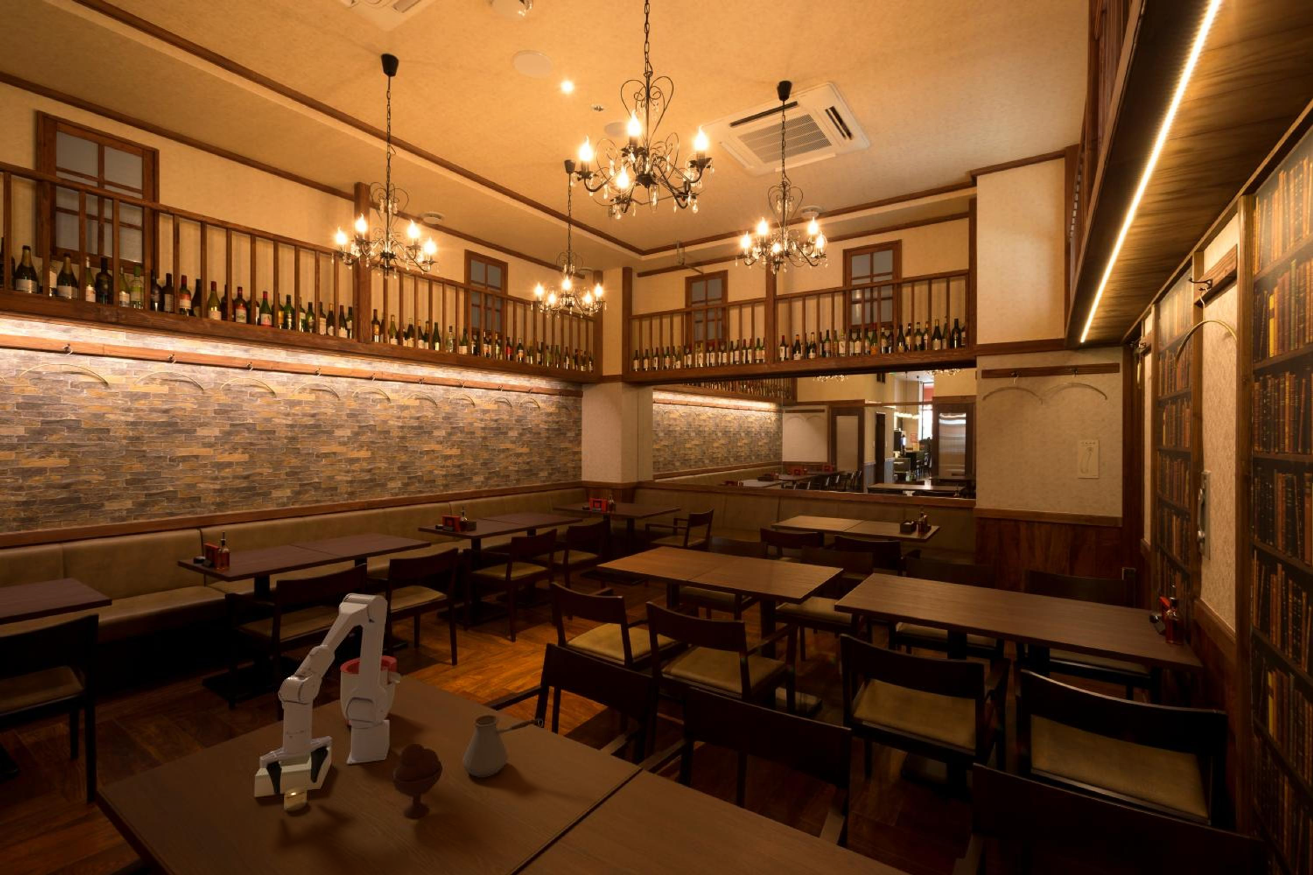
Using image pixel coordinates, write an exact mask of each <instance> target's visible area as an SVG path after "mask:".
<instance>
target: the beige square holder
mask: <svg viewBox="0 0 1313 875" xmlns="http://www.w3.org/2000/svg"><path fill="white" fill-rule="evenodd" d="M327 750H328V756H327V757H326V759H325V760H324V762H323V764H322V766H321V769H320V771H319V775H318V778H317V782H316V783H313V782H312V781H311V752H309V753H306V754H304V755H301V756H297V757H293V758H290V759H287V760H283V761H280V762H279V764H280V767H281V768H282V772H281V778H280V795H281V794H285V793H286V792H287V791H289V790H291V789H293V788H297V787H304V788H306V789H307V791H311V790H312V791H313V790H319V789H321V788H322V785H323V783H324V781H325V778H326V777H327V775H328V771H329V769H330V766H331V764H332V747H329V748H327ZM274 751H275V750H272V751H271V750H270V752H269V753H271V752H274ZM259 767H260V766H259ZM273 795H275V794H274V790H273V785H272V781H271V778H270V776H269V774H268V772H267V770H266V768H261V767H260V768H259V769H258V771H257V772H256V774H255V775H254V795H253V796H254V798H258V797H265V796H267V797H268V796H273ZM275 796H276V795H275Z"/></svg>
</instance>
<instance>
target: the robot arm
mask: <svg viewBox="0 0 1313 875" xmlns="http://www.w3.org/2000/svg"><path fill="white" fill-rule="evenodd" d="M387 612H388V600H386V598H385V597H384V596H383V595H371V594H362V593H355V592H351V593H348V594H346V596H345V597H343V599H342V602H340V604H339V606H338V614H339V615H338V616H337V618H336V619H335V621H334V623H333V625H332V626H331V628H330V629H329V631H328V632H327V634H326V636H325V638H324V639H323V640H322V643H321V644H320V645H317V646H314V647H313V648H312V649H311V650H310V651H309V653H308V654H307V655H306V657H305V659H304V660H303V662H302V663H301V664H300V666H299V667H298V668H297V670H296V671H295V672H294V674H292V675H290V676H289V677H287V678H286V679H284V681H283V682H282V684H281V685H280V688H279V691H278V692H277V695H278V699H279V701H281V709H283V728H282V729H283V730H282V732H283V733H282V734H283V735H282V747H280V748H279V749H276V750H273V751H274V752H271V751H270V752H271V753H270V752H269V753H267V754H265V755H262V756H260V757H259V767H261V768H266V770H267V772H268V774H269V776H270V778H271V781H272V785H273V790H274V794H275V796H276V797H278V796H280V795H281V794H280V778H281V772H282V768H281V767H280V764H279V762H280V761H283V760H287V759H290V758H293V757H297V756H301V755H304V754H306V753H309V752H311V781H312V782H313V783H316V782H317V778H318V775H319V771H320V769H321V766H322V764H323V762H324V760H325V759H326V757H327V756H328V750H327V748H329V747H331V748H333V747H332V744H333V738H332V737H331V736H330V735H328V736H325V737H319V738H314V739H313V738H312V729H313V705H314V704H313V701H314V700H315V698H316V697H317V696H318V694H319V692H320V686H321V684H322V681H323V679H322V678H323V677H324V676H325V674H326V673H327V671H328V669H329V667H331V665H332V664H333V662H334V660H335V658H336V657H335V651H336V649H337V648H338V647H339V646H340V644H341V643H342V642H343V640H344V639H345V638H346V637H347V635H348V634H349V633H350V632H351V630H352V629H353V628H354V627H357V626H361V628H362V635H361V636H362V637H361V646H360V656H359V658H360V665H359V675H358V685H357V687H356V688H355V689H354V690H352V691H351V692H350V693H349V698H348V702H347V704H346V706H345V717H346V719H348V720H349V724H351V725H352V726H351V729H350V730H351V733H350V752H349V755H348V757H347V760H346V765H352V764H360V763H361V764H362V763H370V762H378V761H384V760H386V759H387V756H388V752H389V748H390V720H389V719H385V717H386V715H387V713H388V709H389V706H388V701H387V692H386V691H385V690H384V689H383V688H382V687H381V686H380V685H379V679H380V669H381V658H382V656H383V647H384V637H385V636H384V635H385V627H386V626H385V625H386V622H387V620H386V619H387ZM384 719H385V720H384Z"/></svg>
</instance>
